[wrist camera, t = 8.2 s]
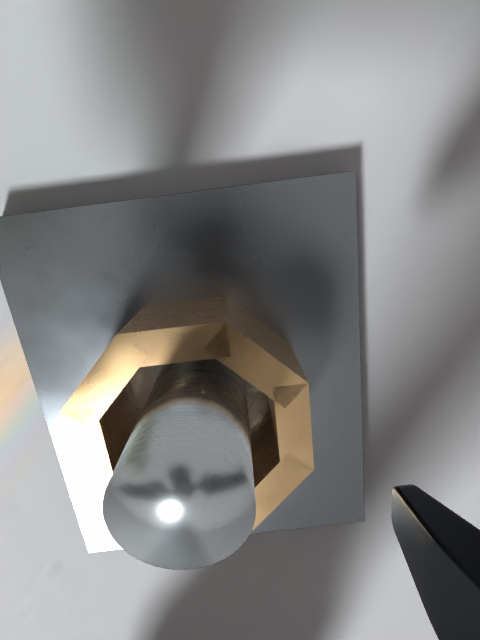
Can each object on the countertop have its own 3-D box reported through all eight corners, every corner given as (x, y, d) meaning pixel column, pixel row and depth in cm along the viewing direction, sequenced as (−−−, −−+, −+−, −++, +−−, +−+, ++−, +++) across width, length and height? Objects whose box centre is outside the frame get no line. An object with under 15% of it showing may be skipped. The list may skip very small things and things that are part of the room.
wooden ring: (299, 459, 14) (317, 522, 11) (127, 479, 14) (100, 546, 11) (286, 289, 12) (303, 312, 9) (85, 313, 12) (39, 343, 9)
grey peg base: (356, 502, 16) (437, 687, 10) (97, 532, 16) (11, 733, 10) (345, 174, 12) (472, 127, 6) (0, 219, 12) (-249, 221, 6)
